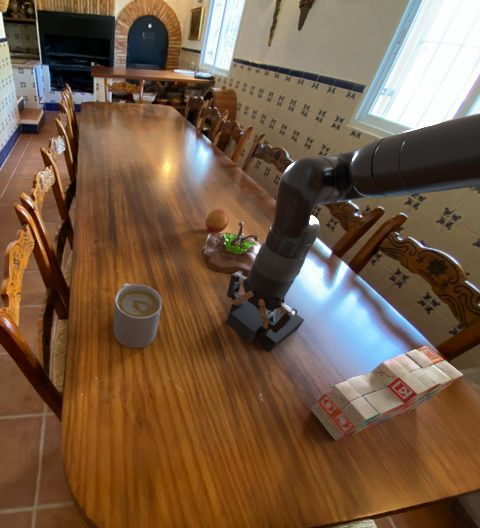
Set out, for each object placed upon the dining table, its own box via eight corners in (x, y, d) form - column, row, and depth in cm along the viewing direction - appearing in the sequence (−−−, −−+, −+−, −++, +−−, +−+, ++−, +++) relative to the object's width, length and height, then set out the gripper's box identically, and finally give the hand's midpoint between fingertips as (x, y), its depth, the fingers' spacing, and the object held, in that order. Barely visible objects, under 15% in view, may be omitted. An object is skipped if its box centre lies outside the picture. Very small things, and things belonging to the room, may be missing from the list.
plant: (260, 243, 100) (272, 214, 93) (270, 281, 85) (286, 250, 78) (201, 233, 102) (208, 204, 95) (200, 269, 87) (209, 237, 80)
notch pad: (298, 328, 72) (304, 319, 70) (269, 352, 66) (275, 343, 64) (256, 298, 79) (261, 289, 77) (227, 317, 73) (231, 307, 71)
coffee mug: (160, 346, 65) (167, 316, 59) (115, 350, 64) (117, 320, 58) (148, 302, 76) (153, 272, 69) (110, 304, 74) (111, 274, 68)
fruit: (230, 234, 103) (237, 214, 98) (212, 239, 100) (218, 218, 95) (216, 223, 109) (221, 203, 104) (198, 227, 106) (203, 207, 101)
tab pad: (271, 325, 66) (277, 314, 64) (248, 342, 62) (254, 332, 60) (248, 308, 69) (254, 297, 67) (225, 323, 65) (230, 312, 63)
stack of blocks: (335, 443, 52) (377, 411, 44) (308, 408, 57) (342, 374, 49) (416, 408, 58) (465, 374, 51) (386, 379, 63) (427, 344, 55)
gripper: (231, 252, 57) (210, 310, 67) (302, 298, 48) (264, 357, 59) (254, 240, 60) (231, 298, 71) (324, 281, 52) (285, 340, 62)
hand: (246, 324), depth 65 cm, fingers closed on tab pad, 6 cm apart
